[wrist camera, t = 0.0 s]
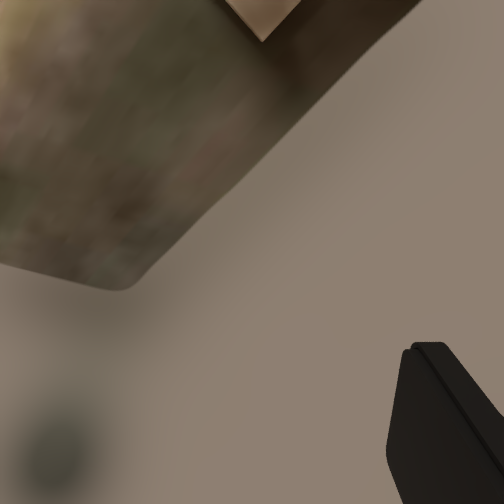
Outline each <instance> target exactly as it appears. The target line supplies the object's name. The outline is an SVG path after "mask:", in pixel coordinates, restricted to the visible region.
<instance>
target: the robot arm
mask: <svg viewBox="0 0 504 504" xmlns="http://www.w3.org/2000/svg"><path fill="white" fill-rule="evenodd" d="M386 457H387V462H388V466H389V468H390V471H391V473H392V476H393V479H394V482H395V484H396V487H397V489H398V492H399V495H400V497H401V499H402V502H403V504H504V417H503V416H502V415H501V414H500V413H499V412H498V410H497V409H496V408H495V407H494V405H493V404H492V403H491V401H490V400H489V399H488V398H487V396H486V395H485V394H484V392H483V391H482V390H481V389H480V387H479V386H478V385H477V384H476V382H475V381H474V380H473V378H472V377H471V376H470V374H469V373H468V372H467V371H466V369H465V368H464V367H463V365H462V364H461V363H460V362H459V360H458V359H457V358H456V356H455V355H454V354H453V353H452V351H451V350H450V349H449V347H448V346H447V345H446V344H445V343H443V342H415V343H413V344H412V346H411V348H410V349H406V350H404V351H403V354H402V358H401V363H400V369H399V375H398V381H397V387H396V393H395V398H394V405H393V410H392V416H391V421H390V428H389V433H388V439H387V445H386Z"/></svg>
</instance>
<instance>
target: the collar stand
mask: <svg viewBox="0 0 504 504" xmlns="http://www.w3.org/2000/svg"><path fill="white" fill-rule="evenodd" d="M225 1H226V2H227V3H228V4H229V5H230V7H231V8H232V9H233V10H234V11H235V12H236V13H237V15H238V16H239V17H240V18H241V19H242V20H243V21H244V23H245V24H246V25H247V26H248V27H249V28H250V30H251V31H252V32H253V33H254V34H255V35H256V36H257V38H258V39H259V40H260V41H261V42H263V41H264V40H265V39H266V38H267V37H268V36H269V35H270V34H271V33H272V32H273V30H274V29H275V28H276V27H277V26H278V25H279V24H280V23H281V22H282V21H283V20H284V19H285V17H286V16H287V15H288V14H289V13H290V12H291V11H292V10H293V9H294V8H295V7H296V6H297V4H298V3H299V2H300V1H301V0H225Z"/></svg>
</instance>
